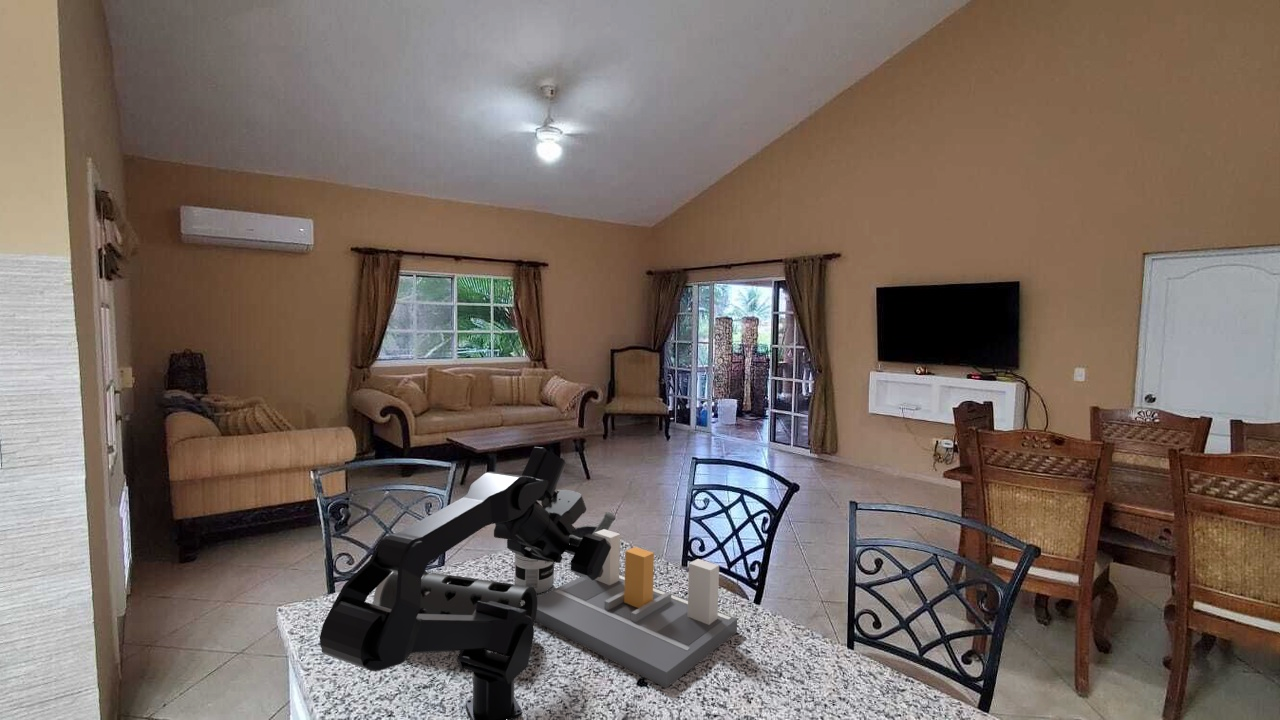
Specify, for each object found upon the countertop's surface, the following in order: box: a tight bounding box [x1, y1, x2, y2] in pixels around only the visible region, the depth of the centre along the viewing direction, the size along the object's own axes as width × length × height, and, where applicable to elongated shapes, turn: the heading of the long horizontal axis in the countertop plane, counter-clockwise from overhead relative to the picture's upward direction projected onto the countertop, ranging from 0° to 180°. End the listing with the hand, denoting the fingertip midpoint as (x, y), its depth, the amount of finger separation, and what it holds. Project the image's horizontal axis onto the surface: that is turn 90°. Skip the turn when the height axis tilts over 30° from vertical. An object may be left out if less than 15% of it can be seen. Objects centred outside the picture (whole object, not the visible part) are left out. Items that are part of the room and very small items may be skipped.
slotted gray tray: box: [523, 529, 738, 689], centre depth 105 cm, size 22×34×12 cm, turn 51°
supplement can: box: [514, 553, 555, 595], centre depth 119 cm, size 8×8×15 cm
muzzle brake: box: [372, 570, 538, 627], centre depth 100 cm, size 10×28×10 cm, turn 76°
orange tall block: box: [624, 546, 655, 608], centre depth 107 cm, size 3×5×10 cm, turn 51°
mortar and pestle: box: [569, 511, 616, 545], centre depth 134 cm, size 11×9×12 cm
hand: (580, 566), depth 97 cm, fingers open, 9 cm apart
